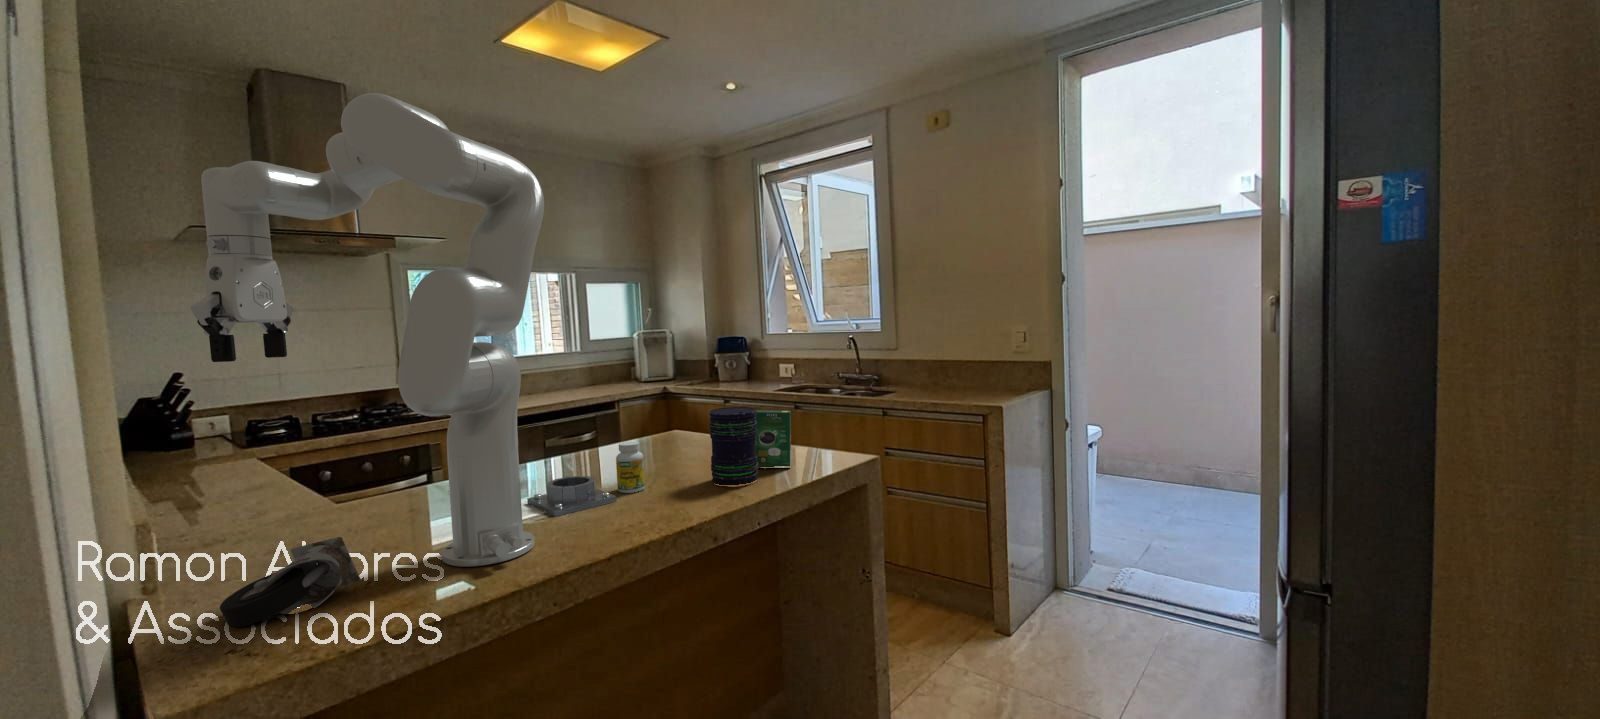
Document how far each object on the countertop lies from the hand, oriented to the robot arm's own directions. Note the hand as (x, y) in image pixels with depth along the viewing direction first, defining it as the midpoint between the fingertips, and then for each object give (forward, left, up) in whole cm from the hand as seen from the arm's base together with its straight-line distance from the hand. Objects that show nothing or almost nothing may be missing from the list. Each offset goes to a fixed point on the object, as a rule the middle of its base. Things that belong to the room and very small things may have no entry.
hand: (251, 359), depth 101 cm
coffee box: (-27, -86, -30) cm, 95 cm away
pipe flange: (-17, -43, -30) cm, 55 cm away
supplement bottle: (-18, -55, -30) cm, 65 cm away
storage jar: (-29, -73, -30) cm, 84 cm away
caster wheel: (-34, +1, -30) cm, 45 cm away
